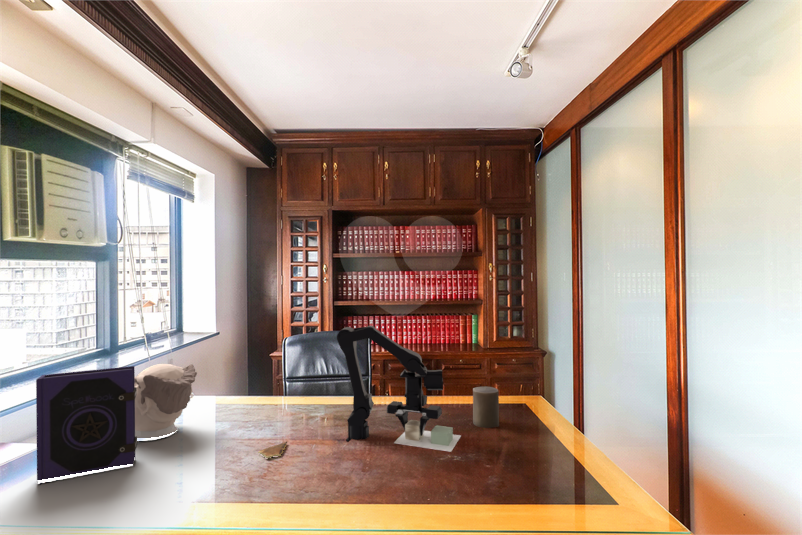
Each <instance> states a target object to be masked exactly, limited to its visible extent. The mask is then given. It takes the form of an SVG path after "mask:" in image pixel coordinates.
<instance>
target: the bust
mask: <svg viewBox="0 0 802 535" xmlns="http://www.w3.org/2000/svg"><path fill="white" fill-rule="evenodd" d="M197 374H198V372H197V371H196V368H195V367H194V364H193V363H192V364H189V365H188V366H185V367H181V366H178V365H174V364H170V363H157V364H154V365H151V366H149V367H146V368H145V369H144V370H142V371H141V372H139V373H138V374H137V375H136V376H135V387H137V395H136V398H135V437H136V436H137V438H151V437H159V436H163V435H167V434H170V433H172V432H175V431H176V430H177V428H178V427H177V426H176V425H175V422H176V420H177V419H179V417H180V416H181V415H182V413H183V410H185V409H186V408H187V407H188V404H189V403H190V402H191V395H192V393H193V387H192V384H193V383H195V380H196V377H197V376H198V375H197Z"/></svg>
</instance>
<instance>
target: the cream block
mask: <svg viewBox="0 0 802 535" xmlns="http://www.w3.org/2000/svg"><path fill="white" fill-rule="evenodd" d="M404 432H405V439H409V440H416V441H419V440H420V439H421V438H422V437H423V435H422V436H421V435H420V420H416V419H415V420H414V419H408V422H407V423H406V424H405V430H404Z"/></svg>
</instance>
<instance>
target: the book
mask: <svg viewBox="0 0 802 535" xmlns="http://www.w3.org/2000/svg"><path fill="white" fill-rule="evenodd" d="M135 371H136V370H135V365H131V366H120V367H119V366H118V367H110V368H99V369H89V370H88V369H87V370H77V371H72V372H71V371H69V372H60V373H49V374H41V375H40V376H39V377H37V378H36V379H35V388H36V389H35V390H36V391H35V392H36V397H35V398H36V399H35V400H36V404H35V405H36V407H35V408H36V481H37V480H42V479H48V478H54V477H60V476H65V475H70V474H76V473H82V472H87V471H92V470H99V469H104V468H108V467H113V466H120V465H127V464H133V463H134V464H135V461H134V457H135V458H136V451H137V450H136V448H137V446H138V441H137V436H136V437H135V398H136V395H137V387H135V377H136V376H135Z"/></svg>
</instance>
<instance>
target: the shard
mask: <svg viewBox="0 0 802 535" xmlns="http://www.w3.org/2000/svg"><path fill="white" fill-rule="evenodd" d="M287 444H288V441H284V442H282V443H278V444H275V445H272V446H269V447H266V448H263V449H260V450H259V451H257V454H258V453H260V454H262V455H263V456H264V457H266V458H270V457H273V456H281V457H282V455H283V453H284V451H285V450H286V448H287ZM285 447H286V448H285ZM283 450H284V451H283ZM281 454H282V455H281ZM270 459H271V458H270Z"/></svg>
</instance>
